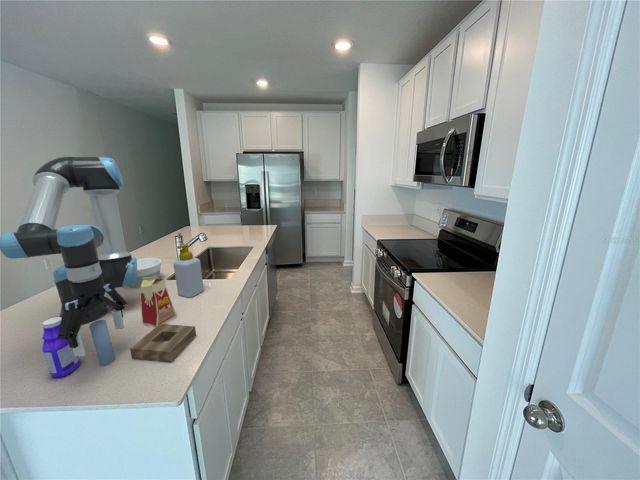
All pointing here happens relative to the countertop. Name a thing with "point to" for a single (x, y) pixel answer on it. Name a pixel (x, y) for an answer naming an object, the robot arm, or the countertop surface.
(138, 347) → the socket block
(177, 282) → the soap bottle
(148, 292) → the milk carton
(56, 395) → the countertop surface
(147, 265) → the bowl
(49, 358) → the bottle
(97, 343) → the peg
